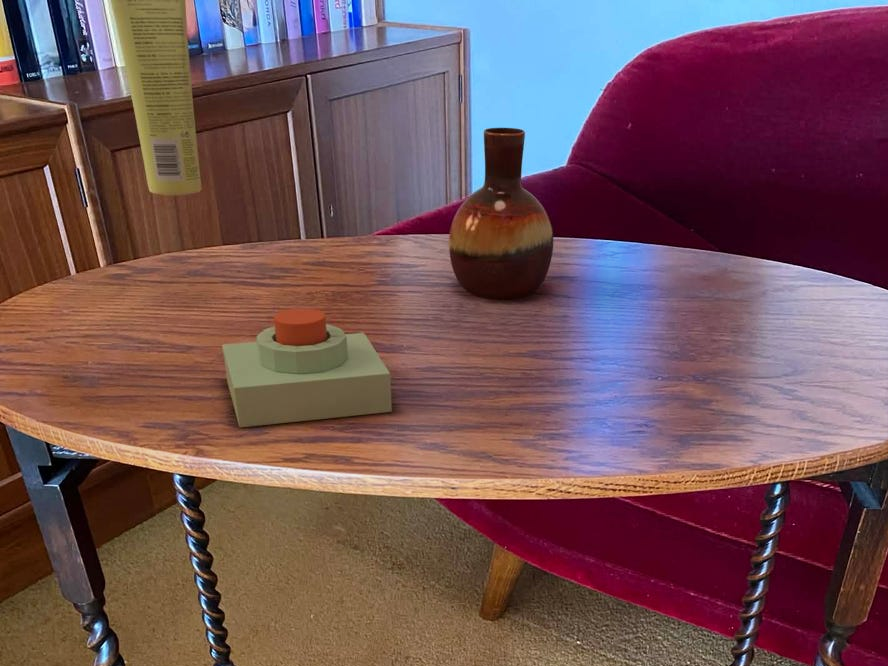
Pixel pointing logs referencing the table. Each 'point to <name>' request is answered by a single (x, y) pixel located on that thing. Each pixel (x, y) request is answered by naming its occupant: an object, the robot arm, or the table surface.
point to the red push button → (300, 327)
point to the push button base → (306, 379)
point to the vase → (501, 227)
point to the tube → (161, 91)
